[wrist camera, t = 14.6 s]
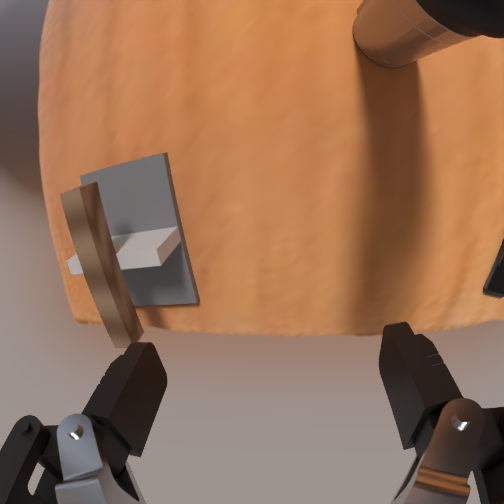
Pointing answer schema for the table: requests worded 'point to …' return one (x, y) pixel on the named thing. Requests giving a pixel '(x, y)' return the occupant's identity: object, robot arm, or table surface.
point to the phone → (496, 276)
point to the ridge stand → (145, 231)
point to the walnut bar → (101, 263)
